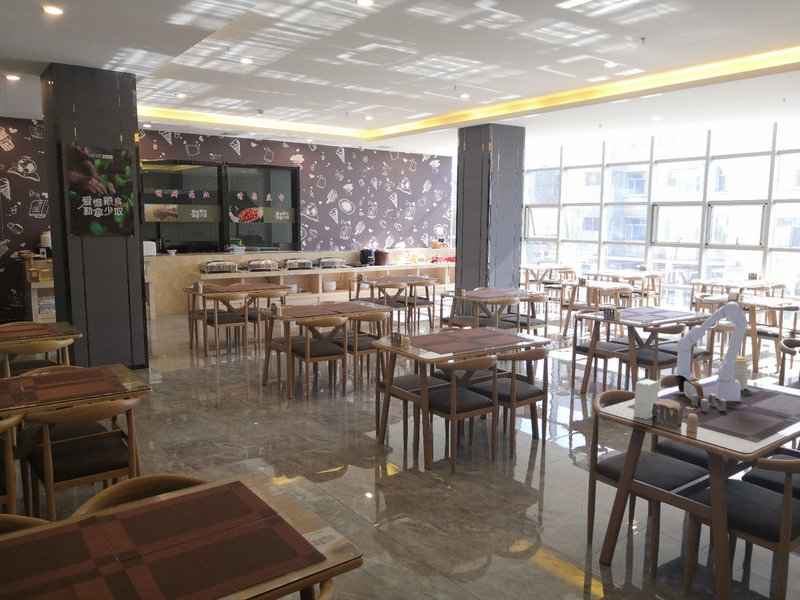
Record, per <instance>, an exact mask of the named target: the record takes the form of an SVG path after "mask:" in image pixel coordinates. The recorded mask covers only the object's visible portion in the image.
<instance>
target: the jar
mask: <svg viewBox="0 0 800 600" xmlns="http://www.w3.org/2000/svg"><path fill="white" fill-rule="evenodd" d="M725 356H726V354H725V355H724V356H721V358H720V359H721V360H720V361H718V364H719V367H720V366H721V365H722V364H723V362H724V359H725ZM748 362H749V361H748V359H747V358H745V356H741V355H739V354H738V355H737V359H736V362H735V365H734V376H733V378H734V379H735V380H738V381H739V382H740V384H741V390H742V389H746V388H747V389H748V385H749V384H748V382H749V381H748V380H749V379H748V378H749V373H750V372H749V370H748V368H749V366H750V364H748ZM717 370H718V371H719V368H718V369H717ZM717 377H719V376H718V375H717ZM747 389H746V390H747ZM742 391H743V390H742Z"/></svg>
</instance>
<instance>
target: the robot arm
mask: <svg viewBox="0 0 800 600" xmlns="http://www.w3.org/2000/svg"><path fill="white" fill-rule="evenodd" d="M726 318H728V319H730V320H731V322H732V323H733V324H734V325H735V326H734V329H733V332H732V335H731V338H730V341H729V343H728V346H727V347H728V348H727V350H726V354H725V355H726V356H725V355H724V356H725V359H724V362H723V364H722V365H721V366H720V365H719V367H718V369H719V370H718V371H717V377H716V387H715V395H716V398H717V399H725V400H726V402H742V400H741V384H740V382H739V381H738V380H735V379H734V378H733V376H734V365H735V362H736V359H737V355H738V356H739V352H740V349H741V345H742V343H743V339H744V337H745V333H746V330H747V327H748V323H749V322H748V320H747V319H748V318H747V317H746V314H745V312H744V309H743V307H742V306H741V305H740V304H739V303H738V302H737V301H729V302H727V303H726V304H725V305H723V306H721V307H719V308H718V309H717V310H715V311H714V312H713V313H712V314H711V315H710V316H709V317H708V318H707V319H705V320H704V321H703V322H702V323H701V325H700V324H699V325H694V326H691V328H690V330H689V331H688V332H687V333H685V334H683V335H682V336H683V337H681V338H680V339H679V340H678V341H677V354H676V355H677V357H676V358H677V359H676V368H674V369H673V375H675V376H674V377H675V380H676V383H677V385H678V391H679V392H680V393H684V381H685V380H693V381H694V379H693V378H694V376H693V375H692V373H691V362H692V361H691V360H692V352H691V351H692V347H693V345H696V343H698V342H699V341H700V340H702V338H703V337H705V336H706V331H707V330H709V328H710V327H712V326H714V324H715V323H716V322H718V321H719V320H722V319H726ZM718 376H719V377H718ZM717 399H716V400H717Z"/></svg>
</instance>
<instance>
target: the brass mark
mask: <svg viewBox="0 0 800 600" xmlns="http://www.w3.org/2000/svg"><path fill="white" fill-rule="evenodd" d="M686 408H687V409H686ZM685 409H686V410H689V409H691V410H690V411H695V410H694V409H696V410H697V408H696V406H685Z"/></svg>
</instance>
